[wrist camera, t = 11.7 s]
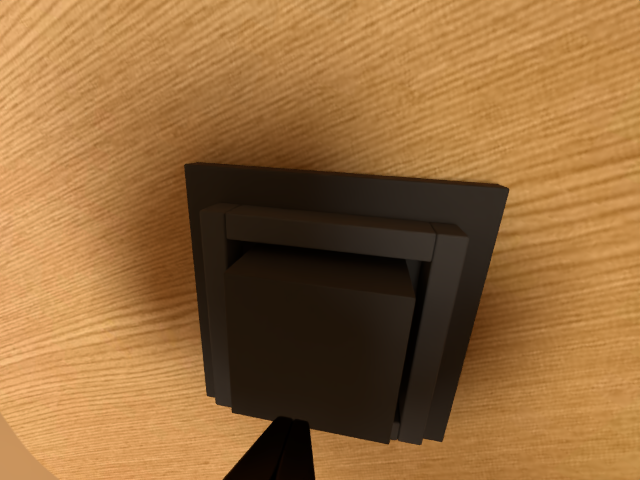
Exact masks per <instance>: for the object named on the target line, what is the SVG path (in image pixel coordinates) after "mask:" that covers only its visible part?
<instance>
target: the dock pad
mask: <svg viewBox="0 0 640 480" xmlns="http://www.w3.org/2000/svg"><path fill="white" fill-rule="evenodd" d="M184 168H185V178H186V188H187V198H188V209H189V219H190V229H191V239H192V250H193V260H194V270H195V280H196V290H197V301H198V311H199V321H200V331H201V341H202V352H203V362H204V372H205V382H206V392H207V396H209V397H215V400H216V404H217V405H222V406H227V407H232V406H231V390H230V374H229V358H228V342H227V326H226V310H225V294H224V278H223V273H224V272H225V271H226V270H227V269H228V268H230V267H231V266H232V265H233V264H234V263H235V262H236V261H237V260H239V259H240V258H241V257H242V256H243V255H244V254H245V253H246V252H248V251H249V250H250V249H251V248H252V247H253V246H254V245H255V244H257V243H265V244H274V245H283V246H292V247H300V248H309V249H318V250H327V251H336V252H345V253H354V254H362V255H371V256H380V257H389V258H398V259H405V260H406V263H407V266H408V270H409V274H410V278H411V282H412V286H413V290H414V294H415V298H416V301H415V306H414V312H413V317H412V322H411V328H410V333H409V339H408V344H407V350H406V355H405V361H404V366H403V372H402V377H401V383H400V388H399V393H398V399H397V404H396V410H395V415H394V421H393V426H392V432H391V437H390V439H391V440H397V439H398V441H401V442H406V443H411V444H416V445H421V444H422V440H423V438H424V439H429V440H434V441H439V442H442V441H443V438H444V434H445V430H446V426H447V423H448V419H449V415H450V411H451V408H452V404H453V400H454V396H455V393H456V389H457V385H458V381H459V377H460V374H461V370H462V366H463V362H464V359H465V355H466V351H467V347H468V344H469V340H470V336H471V332H472V328H473V325H474V321H475V317H476V313H477V310H478V306H479V302H480V298H481V295H482V291H483V287H484V283H485V280H486V276H487V272H488V268H489V264H490V261H491V257H492V253H493V249H494V246H495V242H496V238H497V234H498V231H499V227H500V223H501V219H502V215H503V212H504V208H505V204H506V200H507V197H508V193H509V188H507V187H504V186H501V185H499V184H488V183H475V182H461V181H447V180H434V179H420V178H406V177H393V176H379V175H365V174H352V173H338V172H324V171H311V170H297V169H284V168H270V167H256V166H243V165H229V164H215V163H202V162H196V163H189V164H185V165H184Z"/></svg>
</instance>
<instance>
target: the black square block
mask: <svg viewBox="0 0 640 480" xmlns="http://www.w3.org/2000/svg"><path fill="white" fill-rule="evenodd" d="M223 278H224V294H225V310H226V326H227V342H228V358H229V374H230V390H231V406H232V413H236V414H241V415H246V416H251V417H256V418H260V419H265V420H270V421H274V420H275V419H276V418H277V417H278V416H285V417H290V418H292V419H293V421H294V419H300V420H305V421H308V422H309V427H310V429H315V430H320V431H325V432H330V433H334V434H339V435H344V436H349V437H354V438H359V439H364V440H369V441H374V442H379V443H384V444H389V443H390V437H391V432H392V426H393V421H394V415H395V410H396V404H397V399H398V393H399V388H400V383H401V377H402V372H403V366H404V361H405V355H406V350H407V344H408V339H409V333H410V328H411V322H412V317H413V312H414V306H415V301H416V298H415V294H414V290H413V286H412V282H411V278H410V274H409V270H408V266H407V263H406V260H405V259H398V258H389V257H380V256H371V255H362V254H354V253H345V252H336V251H327V250H318V249H309V248H300V247H292V246H283V245H274V244H265V243H257V244H255V245H254V246H253V247H252V248H251V249H250V250H249V251H248V252H246V253H245V254H244V255H243V256H242V257H241V258H240V259H239V260H237V261H236V262H235V263H234V264H233V265H232V266H231V267H230V268H228V269H227V270H226V271H225V272H224V273H223Z"/></svg>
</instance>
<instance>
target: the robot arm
mask: <svg viewBox="0 0 640 480" xmlns="http://www.w3.org/2000/svg"><path fill="white" fill-rule="evenodd" d="M223 480H315V472H314V463H313V454H312V445H311V436H310V427H309V422H308V421H305V420H300V419H294V421H293V419H292V418H290V417H285V416H278V417H277V418H276V419H275V420H274V421H273V422H272V423H271V424H270V426H269V427H268V428H267V429H266V430H265V431H264V433H263V434H262V435H261V436H260V437H259V438H258V439H257V441H256V442H255V443H254V444H253V445H252V446H251V447H250V449H249V450H248V451H247V452H246V453H245V454H244V455H243V457H242V458H241V459H240V460H239V461H238V462H237V464H236V465H235V466H234V467H233V468H232V469H231V470H230V472H229V473H228V474H227V475H226V476H225V477H224V478H223Z"/></svg>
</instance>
